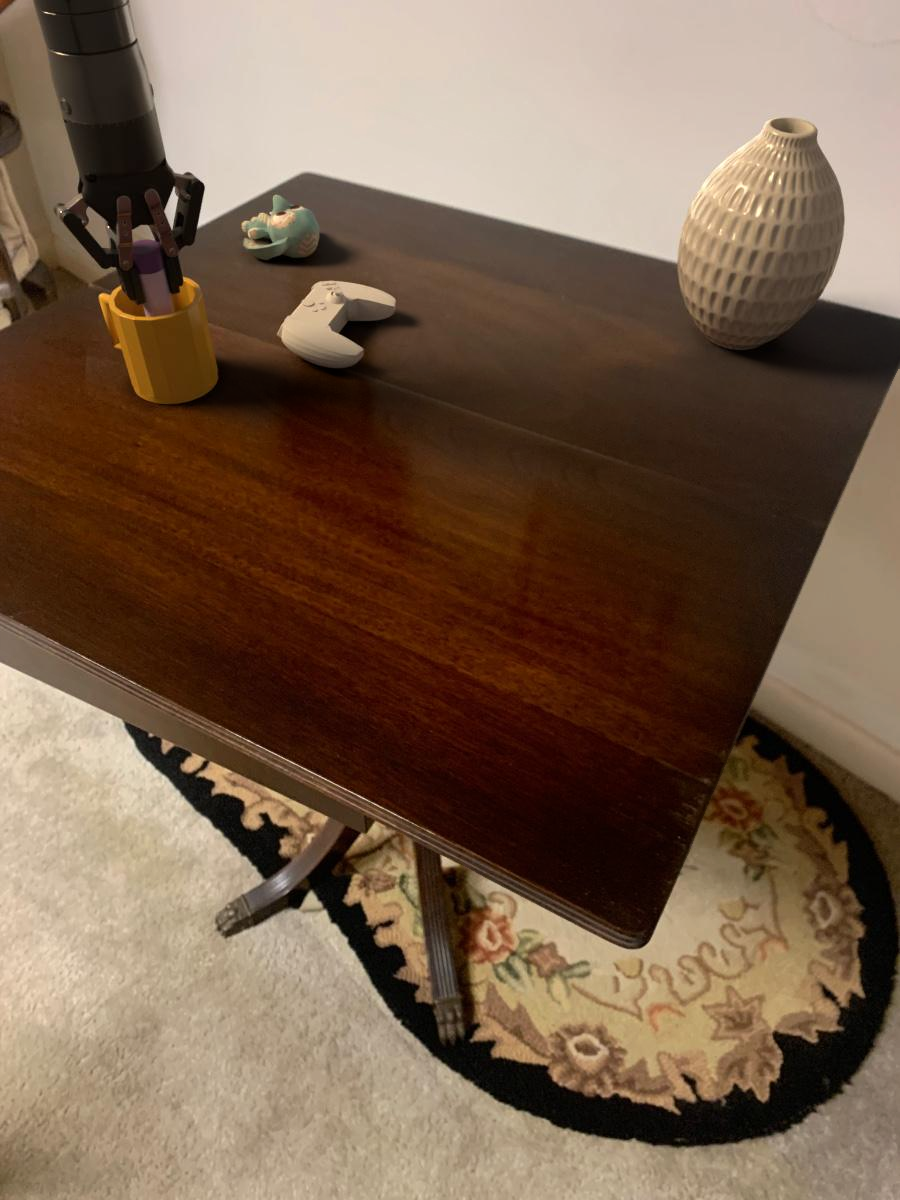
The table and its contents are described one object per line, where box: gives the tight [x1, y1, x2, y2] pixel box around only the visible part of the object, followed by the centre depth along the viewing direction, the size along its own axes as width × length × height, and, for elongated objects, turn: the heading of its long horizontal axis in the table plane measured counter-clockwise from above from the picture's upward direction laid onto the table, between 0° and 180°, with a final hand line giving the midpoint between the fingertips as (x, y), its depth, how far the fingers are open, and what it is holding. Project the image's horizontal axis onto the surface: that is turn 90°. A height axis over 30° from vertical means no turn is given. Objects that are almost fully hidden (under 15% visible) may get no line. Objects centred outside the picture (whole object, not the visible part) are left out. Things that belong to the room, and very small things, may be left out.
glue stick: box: [131, 239, 175, 317], centre depth 86 cm, size 3×3×10 cm
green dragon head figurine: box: [241, 194, 321, 261], centre depth 111 cm, size 11×7×12 cm
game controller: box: [276, 280, 397, 369], centre depth 98 cm, size 14×4×10 cm
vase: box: [676, 116, 846, 351], centre depth 93 cm, size 16×16×22 cm
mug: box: [98, 276, 219, 405], centre depth 90 cm, size 12×9×10 cm
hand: (155, 295), depth 86 cm, fingers closed on glue stick, 3 cm apart
